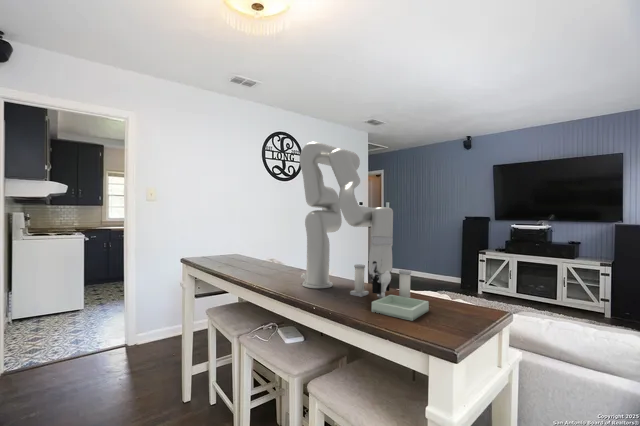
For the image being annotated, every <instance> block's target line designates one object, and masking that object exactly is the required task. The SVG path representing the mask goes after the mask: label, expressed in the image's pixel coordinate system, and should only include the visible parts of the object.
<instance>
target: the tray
mask: <svg viewBox="0 0 640 426" xmlns="http://www.w3.org/2000/svg"><path fill="white" fill-rule="evenodd" d="M429 303H430V301H428V300H424V299H417V298H413V297H410V298H407V297H402V296H399V295H395V294H388V295H385V297H383V298H378V299H375V300H373V301H371V312H372V313H375V312H376V313H377V314H379V313H380V315H385V316H389V317H393V318H397V319H398V318H399V319H401V320H406V321H411V322H413V321H414V320H416V319H418V318H420V317H421V316H423V315H424V314H426V313H428V312H429V309H430V307H429V305H430V304H429ZM376 313H375V314H376Z"/></svg>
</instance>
